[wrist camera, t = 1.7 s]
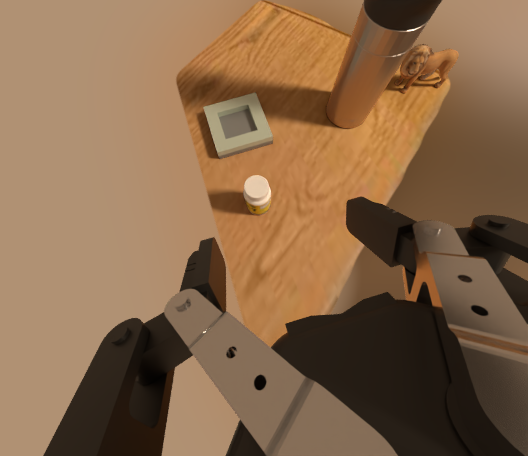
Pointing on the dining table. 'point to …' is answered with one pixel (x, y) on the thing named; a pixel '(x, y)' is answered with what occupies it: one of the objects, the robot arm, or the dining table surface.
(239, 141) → the recess plate
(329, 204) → the dining table surface
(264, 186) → the supplement bottle
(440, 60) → the lion figurine
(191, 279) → the robot arm
